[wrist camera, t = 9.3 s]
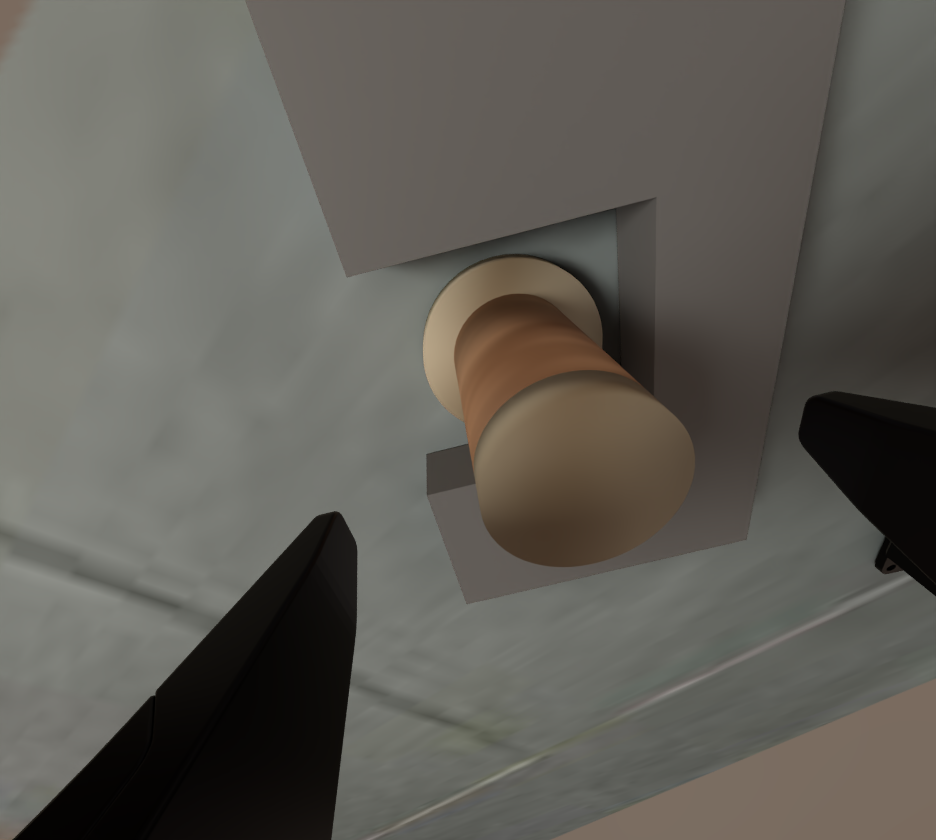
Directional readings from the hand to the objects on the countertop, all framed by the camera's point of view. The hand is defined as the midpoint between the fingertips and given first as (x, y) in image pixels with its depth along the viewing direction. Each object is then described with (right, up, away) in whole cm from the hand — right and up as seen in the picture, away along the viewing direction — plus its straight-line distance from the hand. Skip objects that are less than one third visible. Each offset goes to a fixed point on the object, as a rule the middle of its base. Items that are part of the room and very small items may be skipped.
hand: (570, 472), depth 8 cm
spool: (-1, +4, +7) cm, 8 cm away
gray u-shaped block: (+1, +4, +6) cm, 8 cm away
